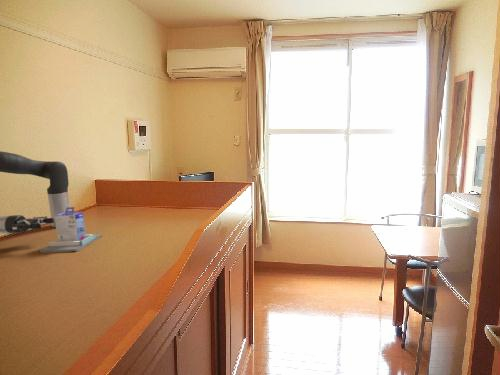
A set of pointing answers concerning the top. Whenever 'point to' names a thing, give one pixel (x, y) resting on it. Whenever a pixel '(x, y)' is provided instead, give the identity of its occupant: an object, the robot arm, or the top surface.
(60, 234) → the ink cartridge box
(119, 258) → the top surface
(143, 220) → the top surface
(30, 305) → the top surface
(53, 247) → the rail plate
